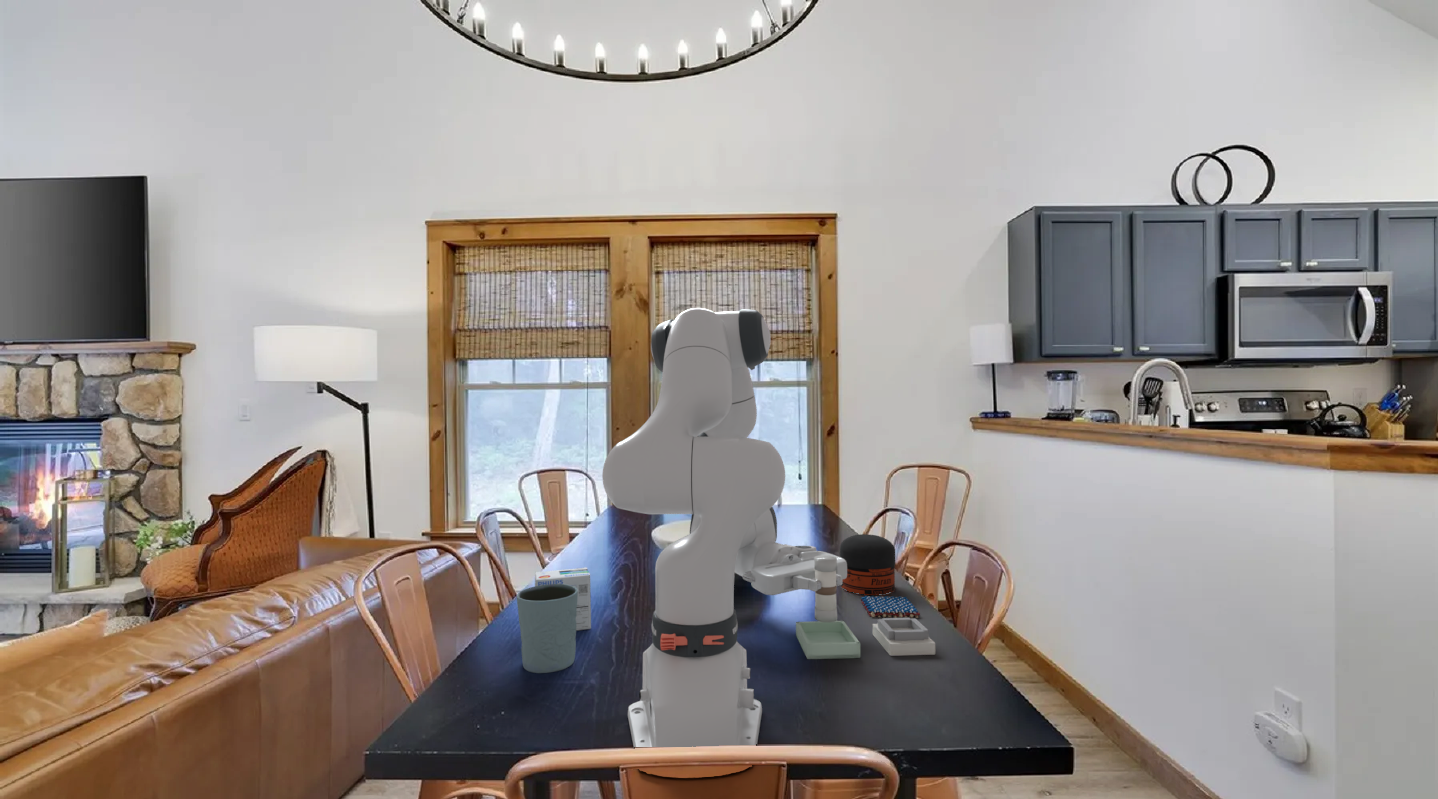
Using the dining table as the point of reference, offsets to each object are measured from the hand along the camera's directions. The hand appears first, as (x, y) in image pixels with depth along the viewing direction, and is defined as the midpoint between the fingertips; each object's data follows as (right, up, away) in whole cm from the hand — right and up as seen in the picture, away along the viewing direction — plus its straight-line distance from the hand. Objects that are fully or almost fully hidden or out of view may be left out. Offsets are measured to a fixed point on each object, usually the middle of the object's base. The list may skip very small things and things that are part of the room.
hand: (829, 583), depth 109 cm
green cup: (-49, -12, -6) cm, 51 cm away
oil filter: (+16, -12, +36) cm, 41 cm away
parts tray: (0, -11, 0) cm, 11 cm away
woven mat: (+17, -12, +20) cm, 29 cm away
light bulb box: (-51, -12, +11) cm, 54 cm away
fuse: (-1, -7, +1) cm, 7 cm away
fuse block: (+14, -11, +1) cm, 18 cm away
